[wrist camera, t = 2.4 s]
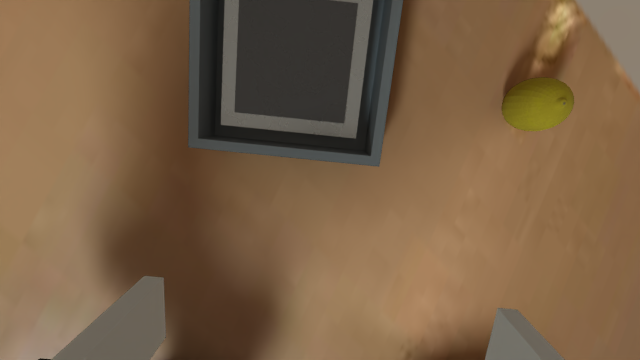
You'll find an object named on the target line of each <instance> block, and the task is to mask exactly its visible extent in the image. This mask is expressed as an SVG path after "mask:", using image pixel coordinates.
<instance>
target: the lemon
mask: <svg viewBox="0 0 640 360" xmlns="http://www.w3.org/2000/svg"><path fill="white" fill-rule="evenodd" d="M573 105H574V96H573V92H572V91H571V89H570V88H569V87H568V86H567V85H566V84H565V83H563V82H561V81H559V80H557V79H552V78H545V77H541V78H532V79H528V80H526V81H523V82H521V83H519V84H517V85H516V86H514V87H513V88H512V89H511V90H510V91H509V92H508V93H507V94H506V96H505V97H504V100H503V103H502V114H503V116H504V118H505V120H506V121H507V122H508V123H509V124H510V125H512V126H513V127H515V128H517V129H521V130H524V131H540V130H545V129H549V128H552V127H554V126H556V125H558V124H560V123H561V122H562V121H564V120H565V119H566V118H567V117H568V115H569V114H570V113H571V111H572V109H573Z"/></svg>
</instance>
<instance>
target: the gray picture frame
mask: <svg viewBox="0 0 640 360" xmlns="http://www.w3.org/2000/svg"><path fill="white" fill-rule="evenodd" d="M372 7H373V0H225V6H224V38H223V70H222V101H221V125H228V126H238V127H248V128H258V129H267V130H277V131H287V132H297V133H307V134H316V135H326V136H336V137H346V138H355V139H356V134H357V126H358V118H359V110H360V102H361V94H362V86H363V78H364V70H365V62H366V54H367V46H368V38H369V30H370V22H371V14H372Z"/></svg>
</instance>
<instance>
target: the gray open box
mask: <svg viewBox="0 0 640 360" xmlns="http://www.w3.org/2000/svg"><path fill="white" fill-rule="evenodd" d="M402 5H403V0H373V7H372V14H371V22H370V30H369V38H368V46H367V54H366V62H365V70H364V78H363V86H362V94H361V102H360V110H359V118H358V126H357V134H356V139H355V138H346V137H336V136H326V135H316V134H307V133H297V132H287V131H277V130H267V129H258V128H248V127H238V126H228V125H221V101H222V70H223V38H224V6H225V0H190V22H189V127H188V147H191V148H201V149H211V150H220V151H230V152H240V153H250V154H260V155H270V156H280V157H290V158H300V159H310V160H320V161H329V162H339V163H349V164H359V165H369V166H379V164H380V158H381V151H382V144H383V137H384V130H385V123H386V116H387V109H388V102H389V95H390V88H391V81H392V74H393V67H394V60H395V53H396V46H397V39H398V33H399V26H400V19H401V12H402Z"/></svg>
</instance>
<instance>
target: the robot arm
mask: <svg viewBox="0 0 640 360" xmlns="http://www.w3.org/2000/svg"><path fill="white" fill-rule="evenodd" d="M165 338H166V325H165V299H164V278H163V277H152V276H144V277H142V278H141V279H140V280H139V281H138V282H137V283H136V284H135V285H134V286H132V287H131V288H130V289H129V290H128V291H127V292H126V293H125V294H124V295H122V296H121V297H120V298H119V299H118V300H117V301H116V302H115V303H114V304H112V305H111V306H110V307H109V308H108V309H107V310H106V311H105V312H104V313H102V314H101V315H100V316H99V317H98V318H97V319H96V320H95V321H94V322H92V323H91V324H90V325H89V326H88V327H87V328H86V329H85V330H84V331H82V332H81V333H80V334H79V335H78V336H77V337H76V338H75V339H74V340H73V341H71V342H70V343H69V344H68V345H67V346H66V347H65V348H64V349H63V350H61V351H60V352H59V353H58V354H57V355H56V356H55V357H54V358H53V359H41V358H40V359H38V360H150V359H151V357H152V356H153V355H154V353H155V352H156V350H157V349H158V348H159V346H160V345H161V343H162V342H163V341H164V339H165ZM485 360H564V359H563V357H562V356H561V355H560V354H559V353H558V352H557V351H556V350H555V349H554V348H553V347H552V346H551V345H550V344H549V343H548V342H547V341H546V340H545V338H544V337H543V336H542V335H541V334H540V333H539V332H538V331H537V330H536V329H535V328H534V327H533V326H532V325H531V324H530V323H529V322H528V320H527V319H526V318H525V317H524V316H523V315H522V314H521V313H520V312H519V311H518V310H514V309H503V308H498V309H497V313H496V317H495V321H494V325H493V329H492V333H491V337H490V341H489V345H488V349H487V353H486V357H485Z"/></svg>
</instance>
